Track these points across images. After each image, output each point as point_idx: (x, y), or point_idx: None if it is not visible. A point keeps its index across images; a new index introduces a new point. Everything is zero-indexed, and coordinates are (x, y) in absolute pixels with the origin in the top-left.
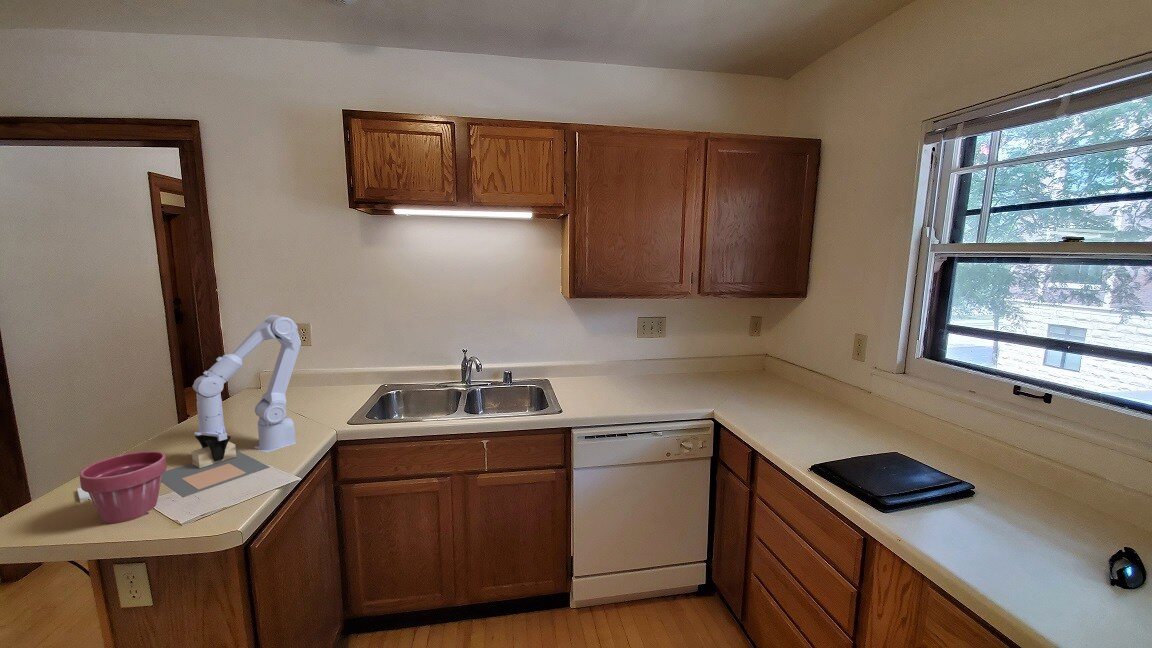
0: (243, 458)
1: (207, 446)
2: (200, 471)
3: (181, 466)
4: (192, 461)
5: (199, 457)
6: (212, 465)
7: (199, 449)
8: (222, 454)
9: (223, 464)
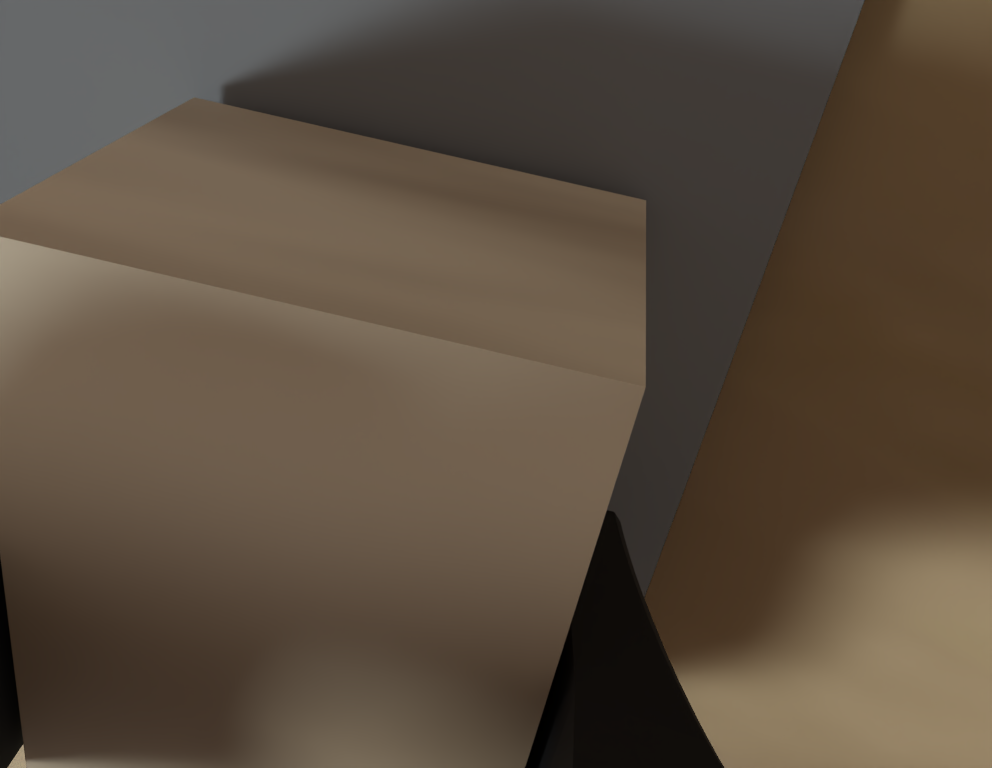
0: None
1: (550, 748)
2: (25, 2)
3: (838, 10)
4: (633, 222)
5: (32, 216)
6: None
7: (523, 556)
8: None
9: None
